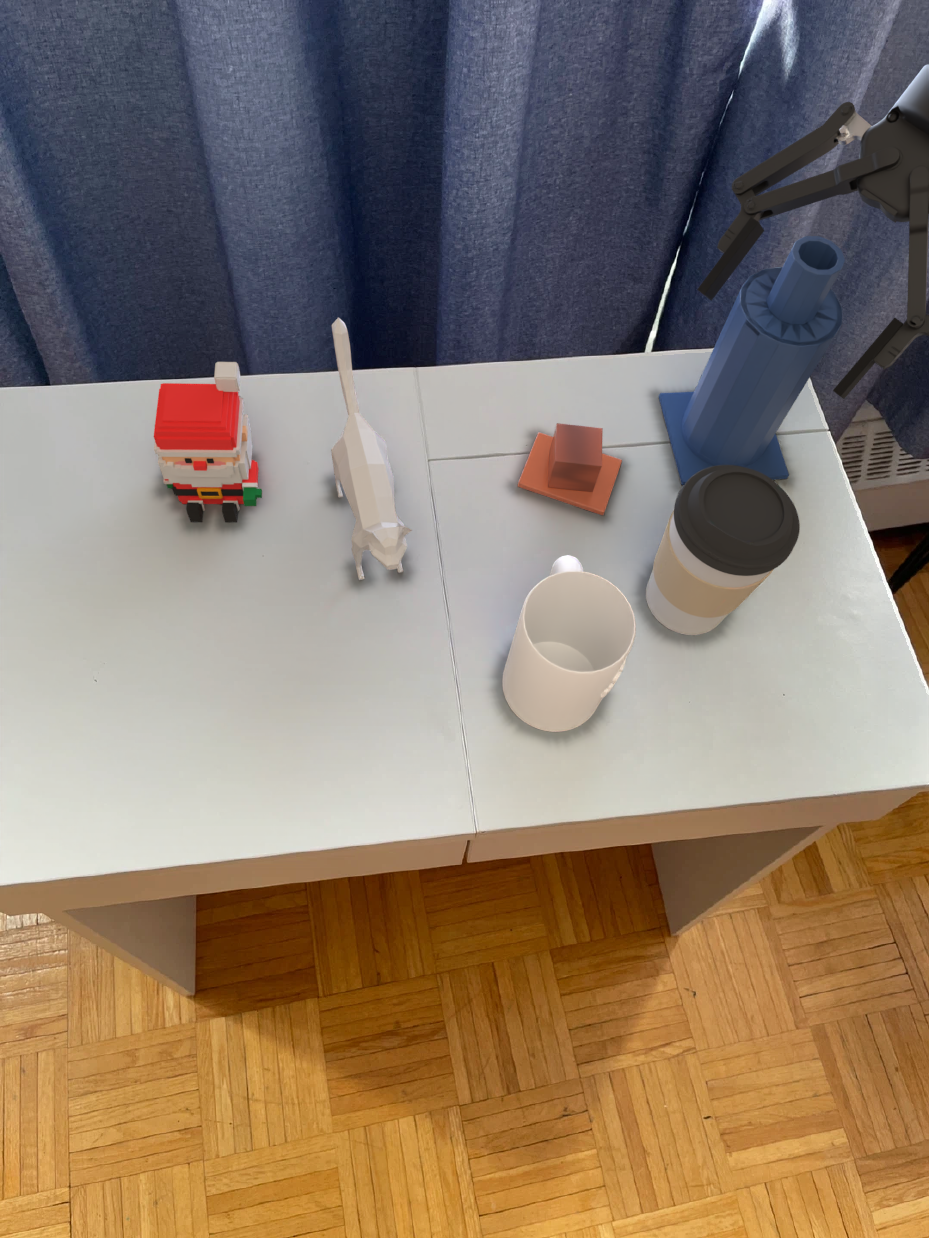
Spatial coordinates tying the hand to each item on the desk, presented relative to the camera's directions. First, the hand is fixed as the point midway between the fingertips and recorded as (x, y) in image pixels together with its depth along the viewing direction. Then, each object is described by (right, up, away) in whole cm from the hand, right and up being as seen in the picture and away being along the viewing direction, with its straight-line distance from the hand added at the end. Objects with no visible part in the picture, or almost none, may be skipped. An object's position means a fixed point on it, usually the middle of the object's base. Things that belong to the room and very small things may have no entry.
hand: (769, 344), depth 75 cm
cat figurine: (-33, -13, +6) cm, 36 cm away
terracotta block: (-15, -9, +8) cm, 19 cm away
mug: (-17, -26, +1) cm, 31 cm away
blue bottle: (0, -5, +12) cm, 13 cm away
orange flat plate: (-15, -9, +9) cm, 20 cm away
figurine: (-46, -11, +6) cm, 47 cm away
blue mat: (0, -5, +12) cm, 13 cm away
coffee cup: (-6, -20, +5) cm, 22 cm away
